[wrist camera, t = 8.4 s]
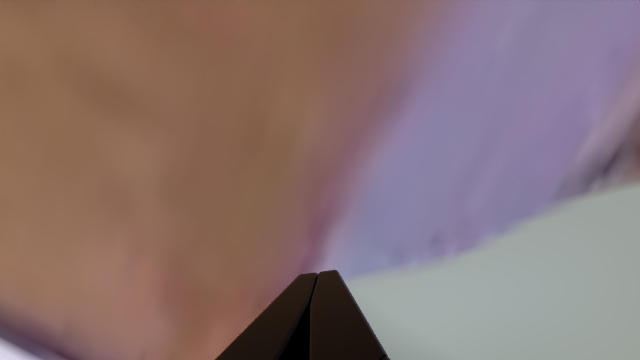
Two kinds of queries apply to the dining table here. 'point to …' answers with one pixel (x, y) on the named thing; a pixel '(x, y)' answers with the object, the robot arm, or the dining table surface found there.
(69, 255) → the dining table surface
